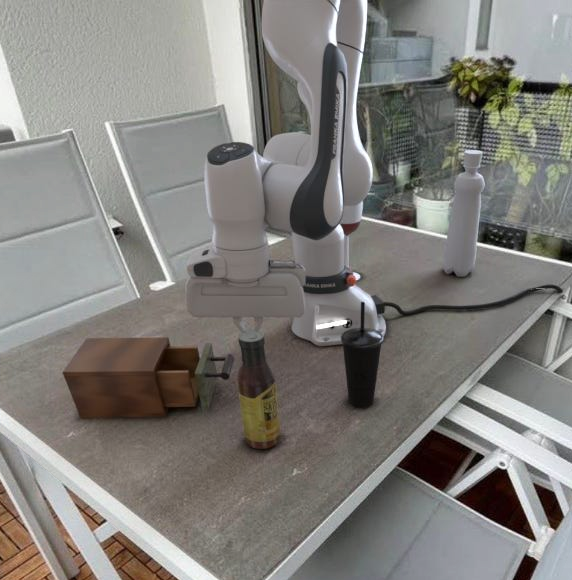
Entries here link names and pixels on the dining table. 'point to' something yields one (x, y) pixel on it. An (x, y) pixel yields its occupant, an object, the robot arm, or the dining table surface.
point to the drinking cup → (361, 362)
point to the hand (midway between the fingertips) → (250, 338)
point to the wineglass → (351, 226)
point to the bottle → (464, 218)
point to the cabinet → (117, 377)
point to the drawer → (190, 375)
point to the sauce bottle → (257, 393)
